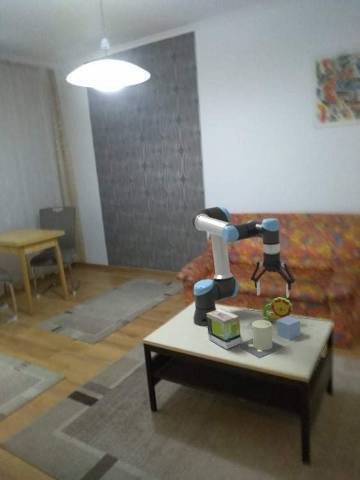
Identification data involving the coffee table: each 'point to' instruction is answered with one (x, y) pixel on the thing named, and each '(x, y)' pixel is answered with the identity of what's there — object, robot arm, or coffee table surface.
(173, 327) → the coffee table surface
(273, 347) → the letter mat
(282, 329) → the blue cube
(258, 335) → the can
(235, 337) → the tea box
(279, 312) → the toy lion
